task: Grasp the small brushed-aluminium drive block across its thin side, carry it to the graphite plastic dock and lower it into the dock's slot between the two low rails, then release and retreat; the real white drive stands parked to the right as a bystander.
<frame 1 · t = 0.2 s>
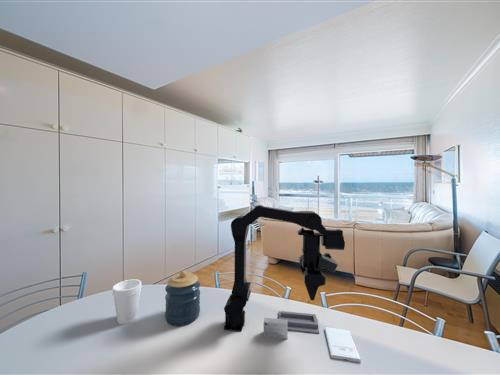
hand: (310, 292, 72), 14 cm above the table, fingers open, 9 cm apart
external hard drive: (340, 346, 67), on the table
drive: (275, 335, 71), on the table
dock: (297, 322, 78), on the table
foam cup: (127, 319, 79), on the table
canister: (182, 316, 81), on the table
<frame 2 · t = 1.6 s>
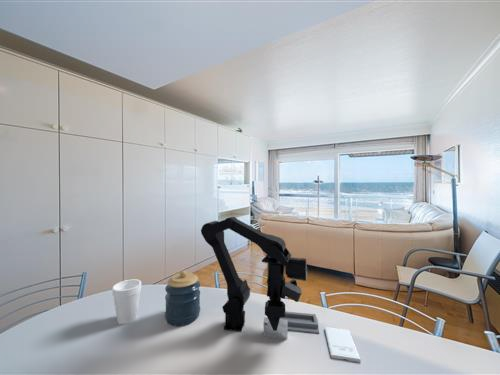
hand: (275, 321, 71), 5 cm above the table, fingers open, 9 cm apart
nothing on the table moved.
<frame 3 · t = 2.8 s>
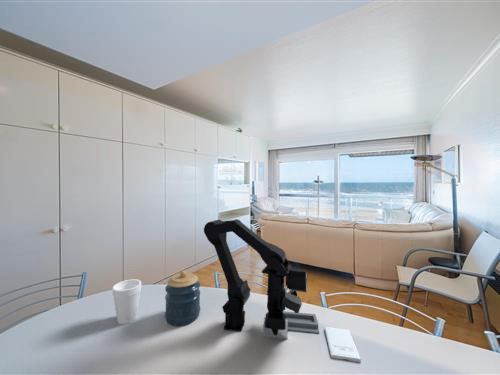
hand: (275, 332, 71), 1 cm above the table, fingers closed on drive, 2 cm apart
drive: (275, 335, 71), on the table, touching gripper
everything else where it was.
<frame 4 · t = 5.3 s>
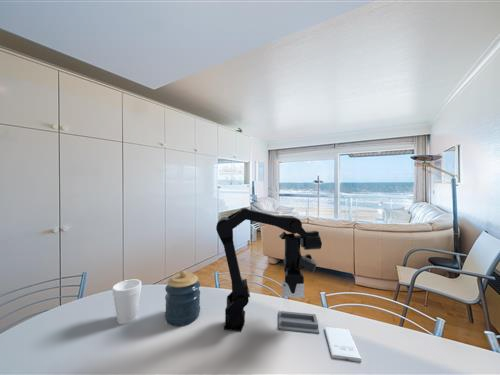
hand: (292, 291, 78), 11 cm above the table, fingers closed on drive, 2 cm apart
drive: (293, 295, 78), point 10 cm above the table, touching gripper
everything else where it was.
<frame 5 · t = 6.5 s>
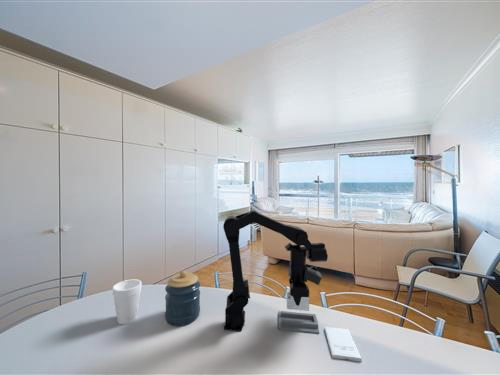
hand: (297, 303, 78), 7 cm above the table, fingers closed on drive, 2 cm apart
drive: (297, 308, 78), point 5 cm above the table, touching gripper
everything else where it was.
when the fingers open (3 cm above the table, at t = 7.7 s): drive stays where it is, resting on dock.
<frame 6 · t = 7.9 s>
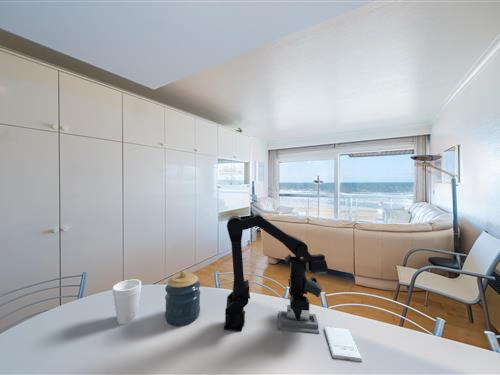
hand: (297, 314, 78), 3 cm above the table, fingers open, 5 cm apart
drive: (297, 320, 78), resting on dock
everything else where it was.
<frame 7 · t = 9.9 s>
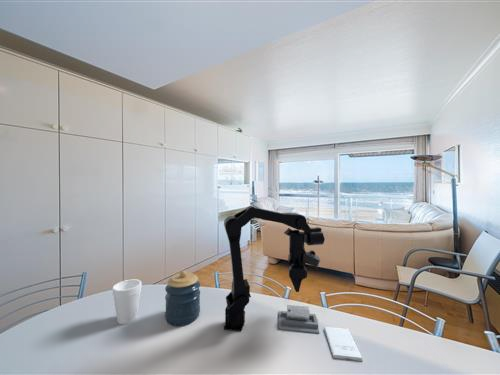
hand: (296, 285, 81), 12 cm above the table, fingers open, 9 cm apart
nothing on the table moved.
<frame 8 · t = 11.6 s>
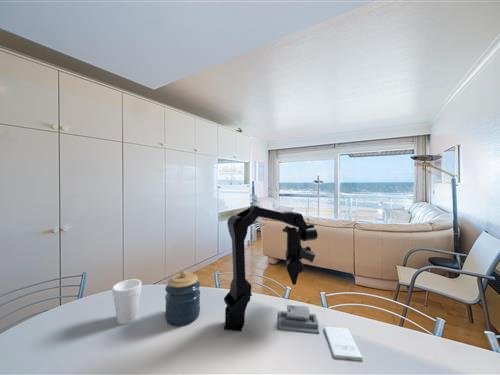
hand: (293, 279, 87), 12 cm above the table, fingers open, 9 cm apart
nothing on the table moved.
at the end: drive inside the target area on the dock (0.1 cm from its centre), point 0.5 cm above the dock's base; drive tilted 0°; the gripper is holding nothing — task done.
